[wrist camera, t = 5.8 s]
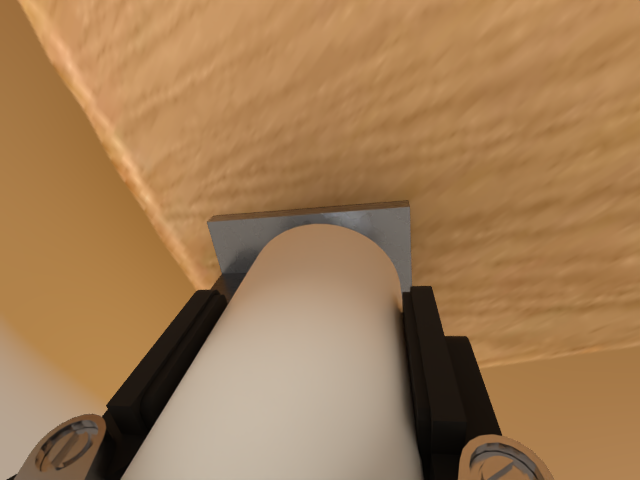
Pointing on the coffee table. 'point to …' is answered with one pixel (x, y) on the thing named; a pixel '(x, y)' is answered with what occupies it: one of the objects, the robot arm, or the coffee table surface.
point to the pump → (296, 374)
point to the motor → (260, 228)
